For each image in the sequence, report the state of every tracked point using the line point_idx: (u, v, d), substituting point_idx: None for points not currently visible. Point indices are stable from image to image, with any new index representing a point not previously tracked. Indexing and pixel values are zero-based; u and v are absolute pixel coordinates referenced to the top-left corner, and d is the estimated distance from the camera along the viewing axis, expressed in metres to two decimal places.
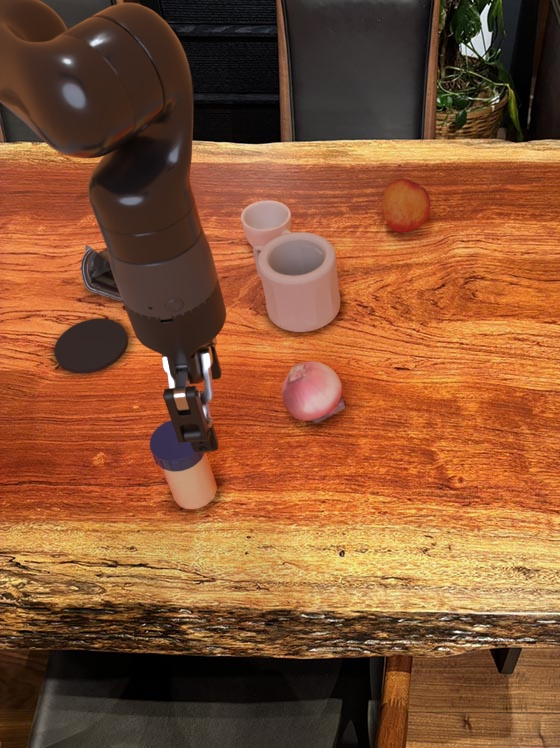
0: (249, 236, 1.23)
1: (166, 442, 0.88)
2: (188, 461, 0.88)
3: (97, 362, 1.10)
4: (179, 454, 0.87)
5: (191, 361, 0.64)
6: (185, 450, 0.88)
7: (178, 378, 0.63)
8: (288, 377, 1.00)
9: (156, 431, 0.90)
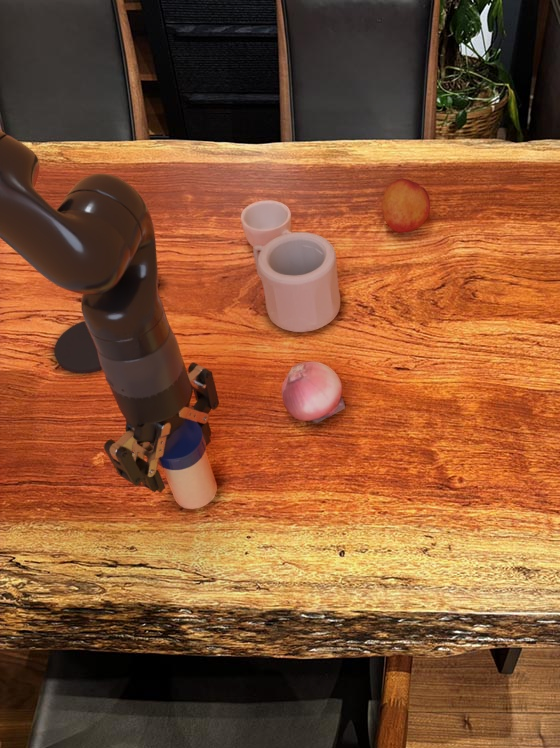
0: (249, 236, 1.23)
1: (178, 444, 0.88)
2: None
3: (97, 362, 1.10)
4: (195, 432, 0.89)
5: None
6: (192, 428, 0.89)
7: (192, 377, 0.86)
8: (288, 377, 1.00)
9: None
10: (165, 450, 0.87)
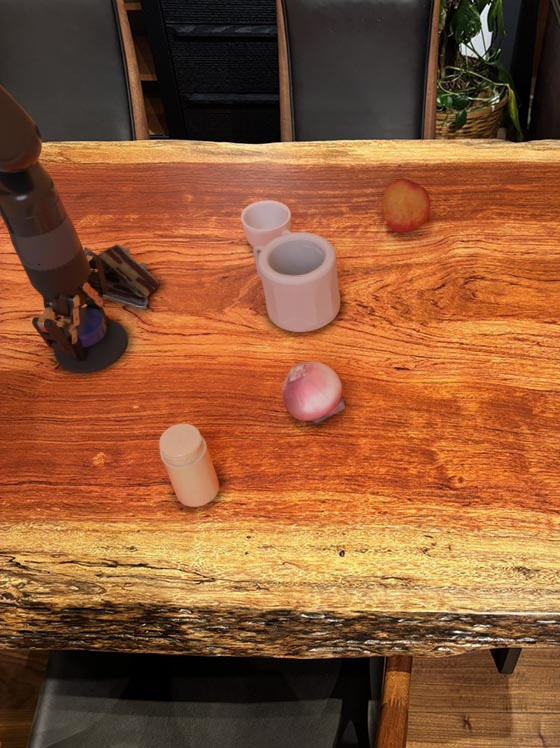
0: (249, 236, 1.23)
1: (89, 319, 1.10)
2: None
3: (97, 362, 1.10)
4: (81, 310, 1.11)
5: None
6: None
7: None
8: (288, 377, 1.00)
9: (95, 328, 1.09)
10: (91, 326, 1.09)
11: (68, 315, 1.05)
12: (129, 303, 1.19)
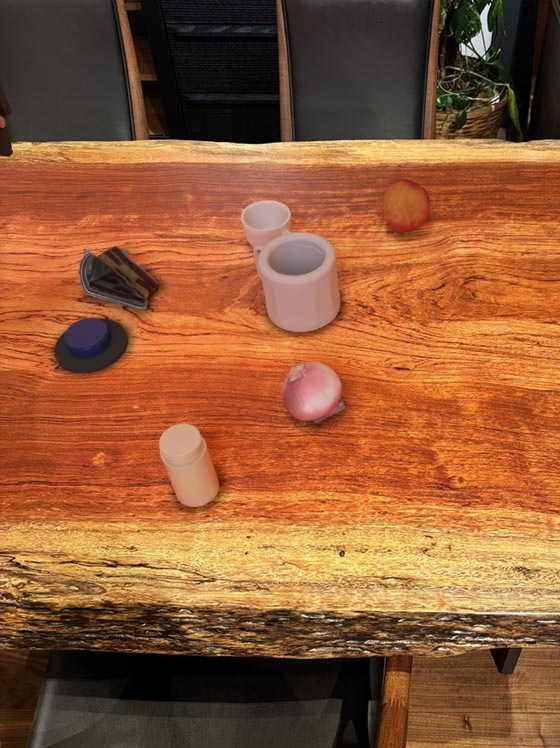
0: (249, 236, 1.23)
1: (93, 330, 1.11)
2: None
3: (97, 362, 1.10)
4: (85, 321, 1.13)
5: None
6: (80, 323, 1.12)
7: None
8: (288, 377, 1.00)
9: (99, 339, 1.10)
10: (95, 337, 1.10)
11: None
12: (129, 305, 1.18)
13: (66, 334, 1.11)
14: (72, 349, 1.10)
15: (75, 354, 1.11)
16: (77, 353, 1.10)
